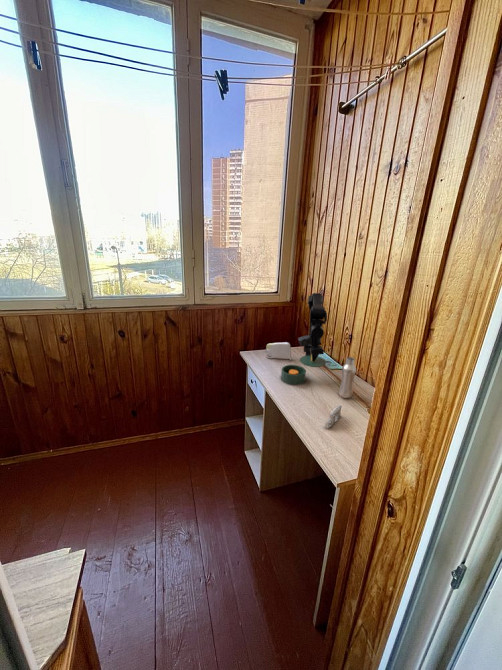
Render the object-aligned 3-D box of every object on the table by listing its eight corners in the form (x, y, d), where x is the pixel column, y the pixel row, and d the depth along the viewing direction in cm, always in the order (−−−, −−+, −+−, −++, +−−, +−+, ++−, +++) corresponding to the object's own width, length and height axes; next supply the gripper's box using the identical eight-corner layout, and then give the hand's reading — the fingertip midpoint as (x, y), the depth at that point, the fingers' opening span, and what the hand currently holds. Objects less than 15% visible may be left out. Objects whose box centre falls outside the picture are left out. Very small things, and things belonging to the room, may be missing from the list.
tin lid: (298, 356, 162) (299, 347, 160) (323, 357, 161) (324, 348, 159) (301, 367, 149) (302, 357, 147) (328, 368, 148) (329, 358, 147)
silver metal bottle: (352, 394, 144) (358, 356, 137) (351, 401, 138) (358, 362, 131) (338, 391, 146) (343, 354, 139) (337, 398, 140) (343, 360, 133)
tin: (280, 373, 164) (281, 364, 162) (303, 374, 163) (304, 365, 161) (281, 384, 152) (282, 374, 150) (306, 385, 151) (307, 376, 149)
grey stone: (328, 429, 118) (330, 417, 116) (324, 427, 119) (325, 415, 117) (340, 416, 127) (342, 404, 125) (336, 414, 128) (338, 402, 126)
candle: (288, 375, 160) (288, 369, 158) (297, 376, 159) (297, 369, 158) (288, 380, 155) (289, 373, 154) (298, 380, 155) (298, 374, 153)
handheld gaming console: (267, 359, 185) (291, 358, 182) (267, 361, 183) (291, 360, 179) (266, 342, 182) (290, 342, 178) (265, 344, 179) (289, 343, 176)
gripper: (298, 325, 158) (295, 352, 164) (302, 337, 141) (299, 367, 146) (318, 326, 158) (315, 353, 163) (325, 338, 140) (322, 367, 146)
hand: (313, 359), depth 155 cm, fingers closed on tin lid, 2 cm apart
